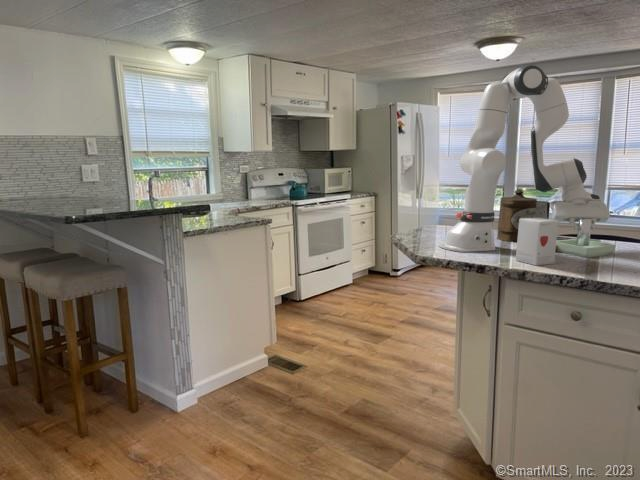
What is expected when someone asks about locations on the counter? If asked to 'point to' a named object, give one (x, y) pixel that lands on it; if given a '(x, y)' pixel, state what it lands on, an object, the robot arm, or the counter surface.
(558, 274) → the counter surface
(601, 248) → the tray
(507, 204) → the wooden container
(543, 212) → the coffee box
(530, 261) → the supplement box
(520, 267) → the counter surface
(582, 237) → the clear glass cylinder
